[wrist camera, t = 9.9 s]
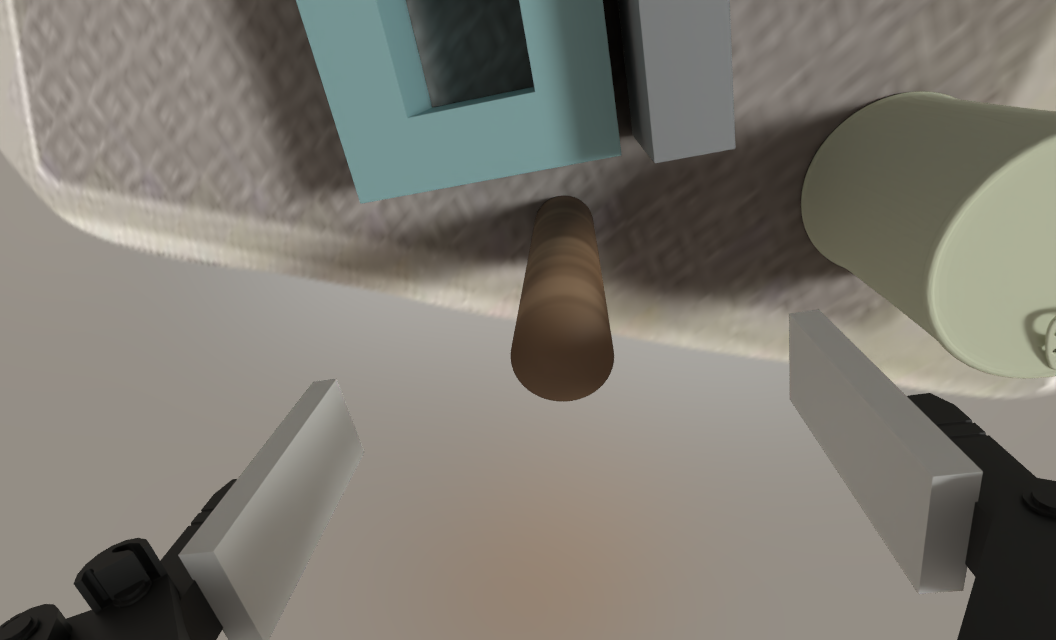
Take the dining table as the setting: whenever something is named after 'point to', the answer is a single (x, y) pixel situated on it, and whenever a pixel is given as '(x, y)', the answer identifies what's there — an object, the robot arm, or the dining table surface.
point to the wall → (679, 76)
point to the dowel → (563, 307)
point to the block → (469, 126)
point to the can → (948, 222)
